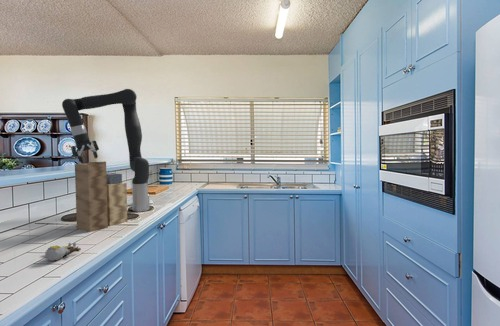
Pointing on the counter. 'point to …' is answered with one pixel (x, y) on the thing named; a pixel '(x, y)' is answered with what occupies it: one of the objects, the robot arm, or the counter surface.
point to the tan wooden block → (116, 203)
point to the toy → (60, 251)
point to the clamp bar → (113, 178)
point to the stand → (91, 196)
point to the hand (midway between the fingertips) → (89, 160)
